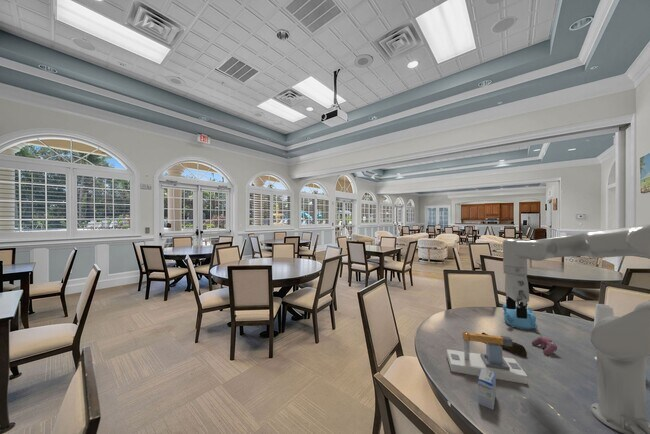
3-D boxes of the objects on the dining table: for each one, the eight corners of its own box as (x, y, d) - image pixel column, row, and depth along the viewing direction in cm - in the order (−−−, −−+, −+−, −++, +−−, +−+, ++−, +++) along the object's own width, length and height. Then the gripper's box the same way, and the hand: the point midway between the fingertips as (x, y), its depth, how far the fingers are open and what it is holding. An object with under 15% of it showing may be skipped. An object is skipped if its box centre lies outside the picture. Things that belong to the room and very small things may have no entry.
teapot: (497, 317, 153) (497, 300, 153) (531, 322, 146) (531, 303, 146) (504, 327, 139) (504, 308, 139) (542, 333, 132) (542, 312, 132)
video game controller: (554, 359, 110) (561, 346, 109) (543, 354, 111) (551, 341, 110) (539, 348, 120) (546, 336, 119) (529, 343, 120) (536, 331, 120)
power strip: (527, 384, 92) (527, 354, 92) (451, 371, 100) (450, 344, 100) (514, 365, 103) (513, 339, 103) (446, 355, 111) (446, 331, 112)
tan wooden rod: (512, 346, 97) (512, 340, 97) (463, 340, 103) (463, 334, 103) (509, 343, 100) (509, 336, 100) (462, 337, 105) (462, 331, 105)
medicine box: (481, 391, 88) (480, 367, 88) (496, 396, 85) (495, 372, 86) (478, 404, 82) (477, 378, 82) (494, 410, 79) (493, 384, 80)
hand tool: (479, 340, 125) (479, 331, 125) (484, 338, 127) (484, 330, 127) (523, 359, 108) (523, 348, 108) (528, 356, 110) (527, 346, 110)
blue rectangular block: (502, 367, 97) (502, 347, 98) (489, 365, 99) (489, 345, 99) (498, 361, 102) (498, 341, 102) (486, 359, 103) (486, 340, 103)
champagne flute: (611, 366, 101) (610, 309, 102) (590, 358, 108) (588, 304, 108) (621, 363, 103) (620, 307, 104) (600, 355, 110) (598, 302, 110)
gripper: (537, 275, 87) (539, 323, 87) (516, 266, 103) (517, 306, 103) (512, 274, 89) (514, 320, 89) (496, 265, 106) (497, 305, 106)
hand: (516, 313), depth 96 cm, fingers open, 9 cm apart
